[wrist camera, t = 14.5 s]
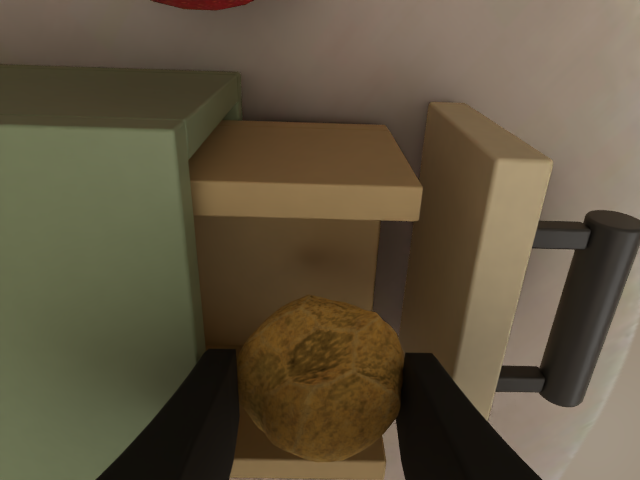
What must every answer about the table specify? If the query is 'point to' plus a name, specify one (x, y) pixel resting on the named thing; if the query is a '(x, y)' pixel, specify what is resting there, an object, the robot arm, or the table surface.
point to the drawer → (424, 258)
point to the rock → (321, 378)
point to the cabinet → (97, 256)
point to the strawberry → (204, 4)
